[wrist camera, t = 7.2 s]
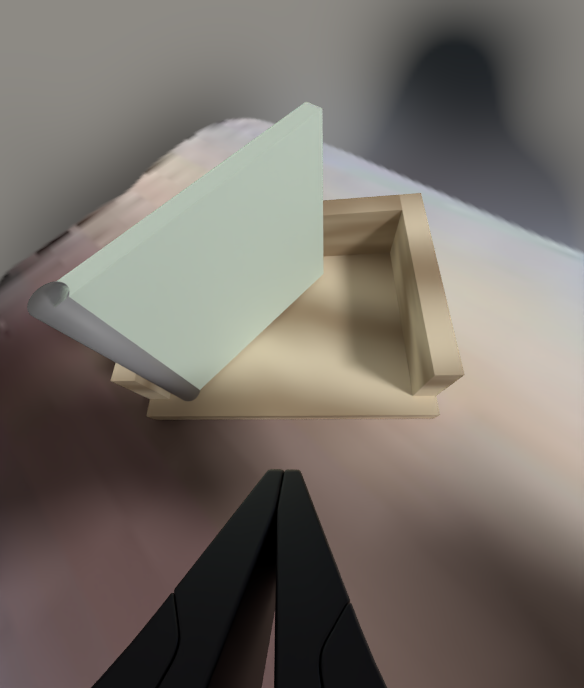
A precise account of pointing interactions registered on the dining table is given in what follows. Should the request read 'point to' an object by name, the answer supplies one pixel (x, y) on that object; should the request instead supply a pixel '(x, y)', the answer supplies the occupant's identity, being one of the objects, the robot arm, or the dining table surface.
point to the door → (203, 264)
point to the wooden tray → (342, 331)
